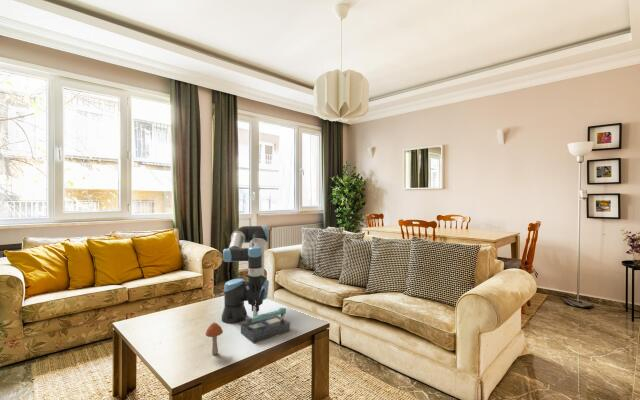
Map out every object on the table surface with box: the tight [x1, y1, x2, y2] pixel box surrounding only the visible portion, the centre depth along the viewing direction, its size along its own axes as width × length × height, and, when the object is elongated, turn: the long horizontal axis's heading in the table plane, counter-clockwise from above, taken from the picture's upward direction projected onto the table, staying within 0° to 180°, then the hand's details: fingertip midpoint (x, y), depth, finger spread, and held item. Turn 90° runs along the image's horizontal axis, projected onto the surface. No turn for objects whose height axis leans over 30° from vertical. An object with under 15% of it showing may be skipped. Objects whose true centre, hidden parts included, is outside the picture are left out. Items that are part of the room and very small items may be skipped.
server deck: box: [240, 314, 291, 344], centre depth 179 cm, size 15×23×8 cm, turn 128°
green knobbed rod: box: [244, 307, 287, 325], centre depth 179 cm, size 24×4×3 cm, turn 128°
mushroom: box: [205, 322, 224, 355], centre depth 155 cm, size 8×8×15 cm
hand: (255, 317), depth 181 cm, fingers closed
